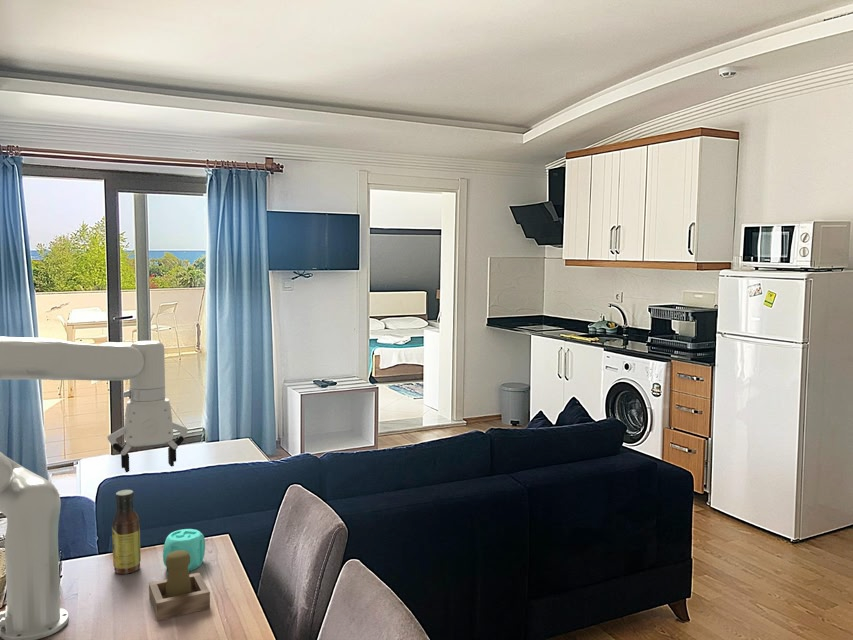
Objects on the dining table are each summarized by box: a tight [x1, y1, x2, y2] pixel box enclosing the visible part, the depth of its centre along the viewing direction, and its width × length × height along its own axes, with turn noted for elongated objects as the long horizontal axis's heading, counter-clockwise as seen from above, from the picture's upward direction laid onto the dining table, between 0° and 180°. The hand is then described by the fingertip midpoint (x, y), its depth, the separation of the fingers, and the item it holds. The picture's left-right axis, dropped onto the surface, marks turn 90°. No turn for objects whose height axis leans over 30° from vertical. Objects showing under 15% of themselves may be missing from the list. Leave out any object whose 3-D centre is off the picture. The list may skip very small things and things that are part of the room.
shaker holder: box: [148, 572, 211, 622], centre depth 154 cm, size 11×11×4 cm
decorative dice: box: [162, 528, 206, 572], centre depth 174 cm, size 8×8×8 cm
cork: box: [165, 550, 192, 598], centre depth 154 cm, size 6×6×11 cm
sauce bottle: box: [111, 489, 142, 575], centre depth 171 cm, size 7×6×20 cm
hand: (149, 467), depth 161 cm, fingers open, 9 cm apart
